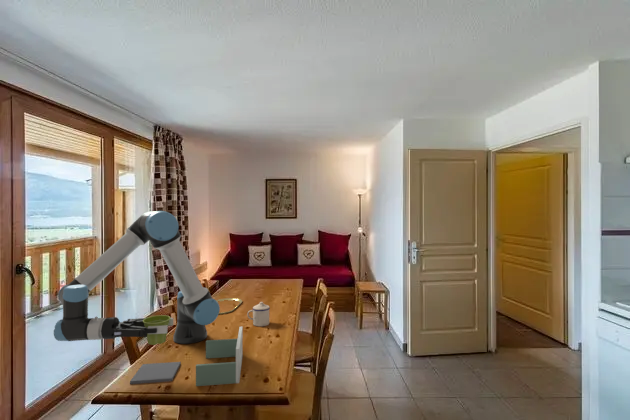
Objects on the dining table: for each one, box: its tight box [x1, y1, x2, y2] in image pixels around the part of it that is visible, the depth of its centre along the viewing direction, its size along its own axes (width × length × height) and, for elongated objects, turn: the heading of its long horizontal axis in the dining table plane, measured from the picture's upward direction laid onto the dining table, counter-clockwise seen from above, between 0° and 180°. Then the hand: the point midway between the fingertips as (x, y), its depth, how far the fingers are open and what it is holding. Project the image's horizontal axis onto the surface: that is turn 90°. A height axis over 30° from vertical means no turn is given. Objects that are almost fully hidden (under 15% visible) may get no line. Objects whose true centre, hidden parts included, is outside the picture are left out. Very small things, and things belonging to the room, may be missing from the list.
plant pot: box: [143, 314, 171, 346], centre depth 131 cm, size 9×9×9 cm
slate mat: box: [129, 361, 181, 385], centre depth 131 cm, size 14×14×1 cm
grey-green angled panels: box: [195, 326, 244, 387], centre depth 135 cm, size 15×24×12 cm, turn 9°
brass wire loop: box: [215, 297, 243, 315], centre depth 223 cm, size 19×35×2 cm, turn 176°
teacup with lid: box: [247, 301, 271, 327], centre depth 189 cm, size 12×9×12 cm
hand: (170, 325), depth 132 cm, fingers closed on plant pot, 8 cm apart
